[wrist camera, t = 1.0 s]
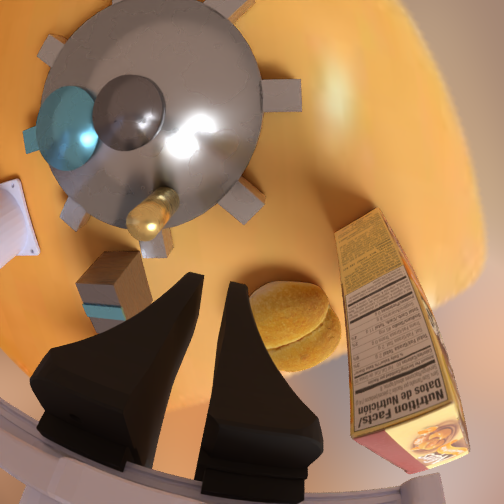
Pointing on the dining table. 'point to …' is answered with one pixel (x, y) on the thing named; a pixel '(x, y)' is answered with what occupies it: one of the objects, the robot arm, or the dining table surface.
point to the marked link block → (114, 289)
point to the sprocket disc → (155, 116)
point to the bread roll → (295, 324)
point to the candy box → (395, 354)
